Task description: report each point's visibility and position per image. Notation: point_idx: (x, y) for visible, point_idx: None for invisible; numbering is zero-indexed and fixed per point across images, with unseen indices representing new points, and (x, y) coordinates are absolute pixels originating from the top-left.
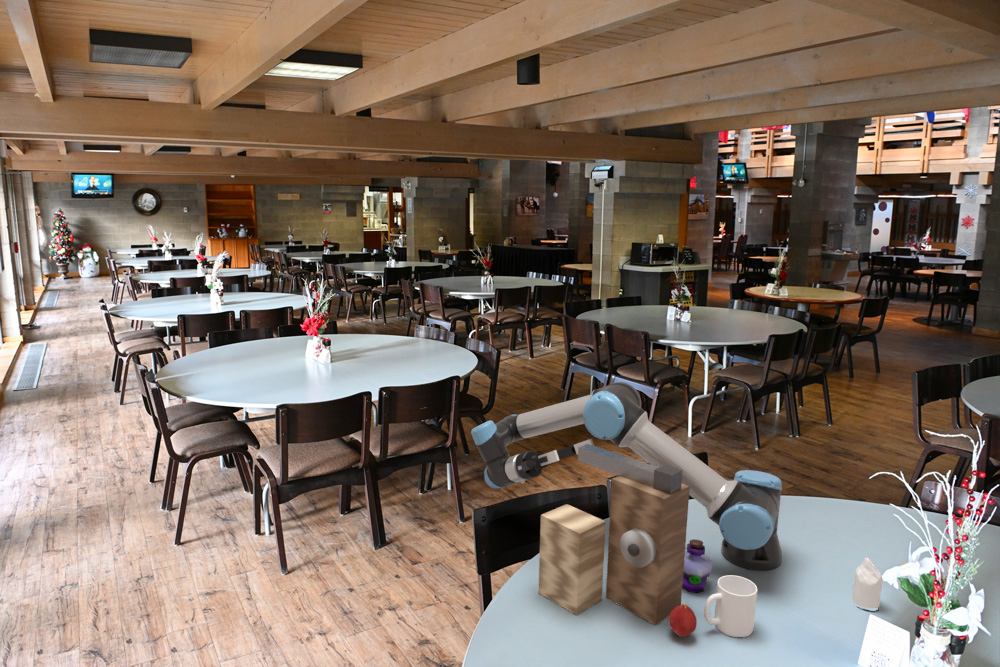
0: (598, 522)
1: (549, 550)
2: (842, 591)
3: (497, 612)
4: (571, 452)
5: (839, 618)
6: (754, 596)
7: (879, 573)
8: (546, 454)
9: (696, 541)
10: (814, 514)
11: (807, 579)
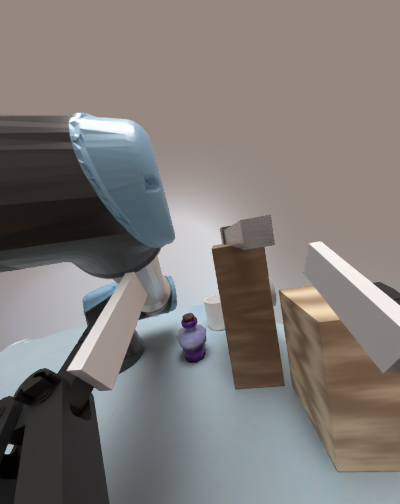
0: (289, 289)
1: None
2: (147, 320)
3: None
4: (89, 427)
5: (174, 313)
6: (215, 296)
7: None
8: (357, 276)
9: (187, 315)
10: (17, 366)
11: (141, 330)
